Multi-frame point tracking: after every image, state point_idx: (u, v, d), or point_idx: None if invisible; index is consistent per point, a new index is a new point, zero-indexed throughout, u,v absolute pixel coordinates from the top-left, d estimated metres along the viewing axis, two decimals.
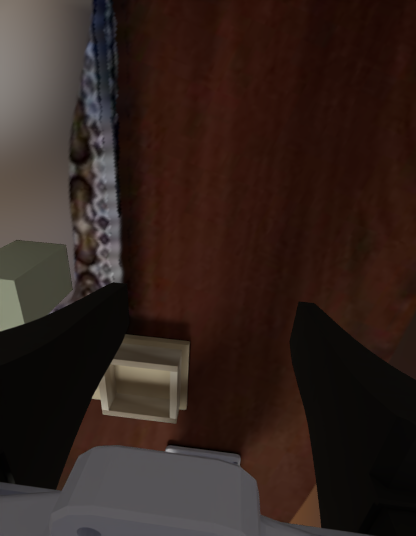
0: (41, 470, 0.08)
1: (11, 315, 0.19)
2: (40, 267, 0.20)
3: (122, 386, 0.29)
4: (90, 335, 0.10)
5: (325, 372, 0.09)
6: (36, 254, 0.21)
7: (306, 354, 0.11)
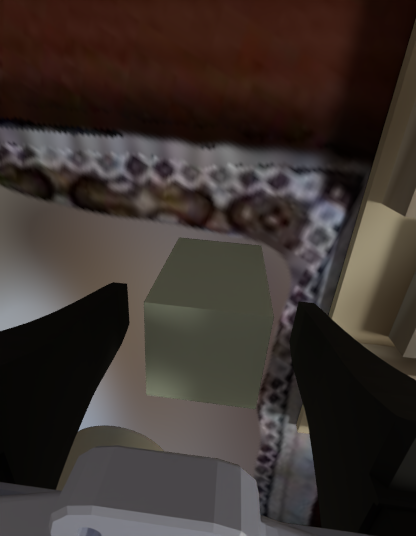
0: (41, 470, 0.08)
1: (225, 332, 0.09)
2: (172, 268, 0.12)
3: None
4: (90, 335, 0.10)
5: (325, 372, 0.09)
6: None
7: (305, 354, 0.11)
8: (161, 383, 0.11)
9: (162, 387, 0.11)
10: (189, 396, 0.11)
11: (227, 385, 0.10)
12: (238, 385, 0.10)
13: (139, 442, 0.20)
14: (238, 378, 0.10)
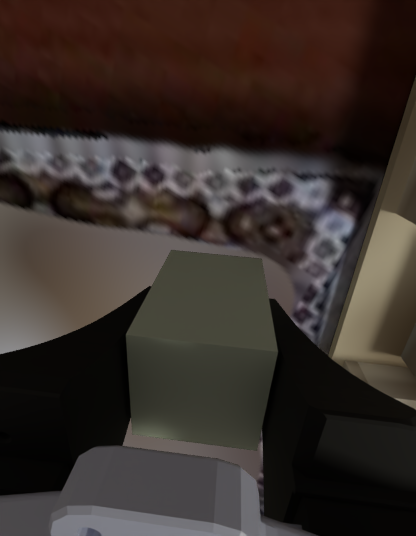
0: None
1: (221, 368, 0.08)
2: (161, 288, 0.10)
3: None
4: None
5: None
6: None
7: None
8: (149, 422, 0.09)
9: (150, 426, 0.09)
10: (181, 436, 0.10)
11: (224, 425, 0.09)
12: (236, 425, 0.09)
13: None
14: (237, 418, 0.09)
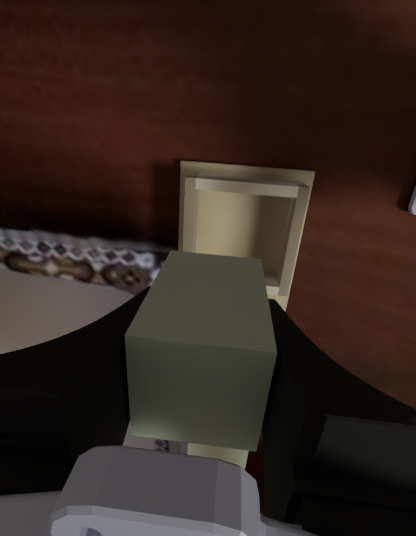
0: None
1: (220, 369, 0.08)
2: (160, 289, 0.10)
3: (262, 263, 0.20)
4: None
5: None
6: None
7: None
8: (148, 423, 0.09)
9: (149, 427, 0.09)
10: (180, 437, 0.09)
11: (223, 426, 0.09)
12: (235, 426, 0.09)
13: None
14: (236, 419, 0.09)
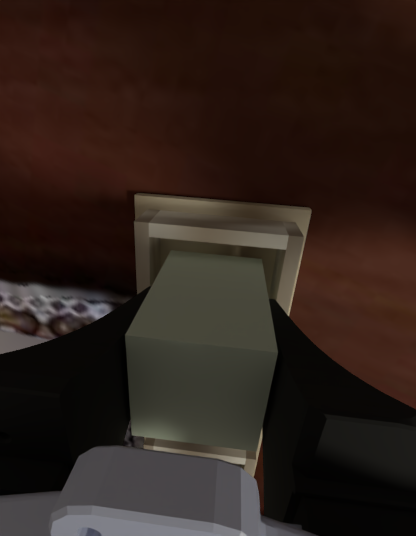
0: None
1: (220, 368, 0.08)
2: (160, 289, 0.10)
3: None
4: None
5: None
6: None
7: None
8: (148, 423, 0.09)
9: (149, 427, 0.09)
10: (181, 437, 0.09)
11: (224, 426, 0.09)
12: (236, 426, 0.09)
13: None
14: (236, 419, 0.09)
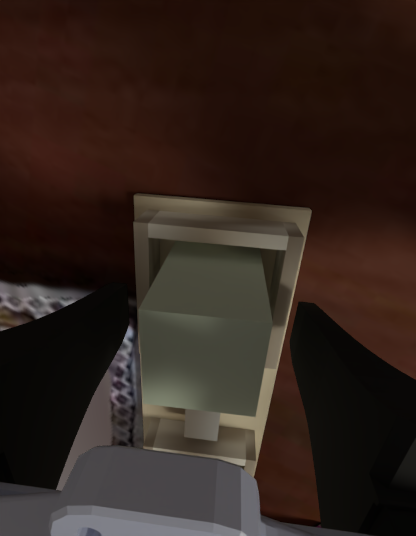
0: (41, 470, 0.08)
1: (223, 339, 0.09)
2: (167, 273, 0.11)
3: None
4: (90, 335, 0.10)
5: (325, 372, 0.09)
6: None
7: (306, 354, 0.11)
8: (158, 391, 0.10)
9: (159, 396, 0.10)
10: (187, 404, 0.11)
11: (226, 393, 0.10)
12: (237, 393, 0.10)
13: None
14: (237, 386, 0.10)
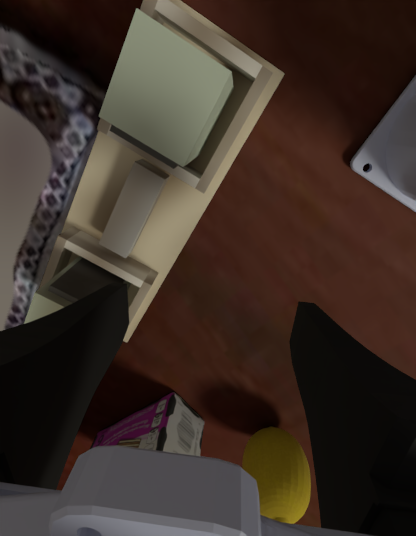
0: (41, 470, 0.08)
1: (189, 71, 0.11)
2: None
3: None
4: (90, 335, 0.10)
5: (325, 372, 0.09)
6: None
7: (305, 354, 0.11)
8: (116, 108, 0.12)
9: (115, 113, 0.12)
10: (134, 132, 0.13)
11: (170, 131, 0.12)
12: (178, 135, 0.12)
13: None
14: (181, 127, 0.12)
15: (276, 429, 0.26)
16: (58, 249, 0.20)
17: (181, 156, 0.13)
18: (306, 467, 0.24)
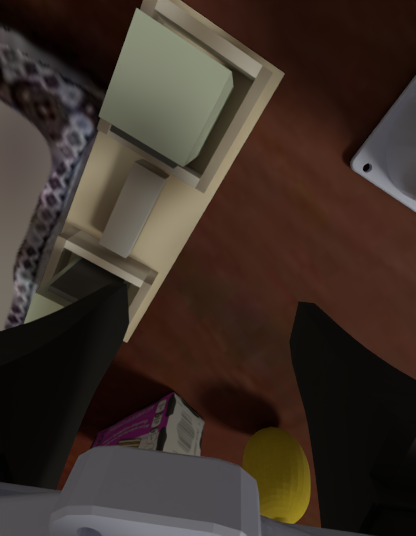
0: (41, 470, 0.08)
1: (189, 71, 0.11)
2: None
3: None
4: (90, 335, 0.10)
5: (325, 372, 0.09)
6: None
7: (306, 355, 0.11)
8: (116, 107, 0.12)
9: (115, 112, 0.12)
10: (134, 132, 0.13)
11: (170, 131, 0.12)
12: (178, 134, 0.12)
13: None
14: (181, 127, 0.12)
15: (276, 429, 0.26)
16: (58, 249, 0.20)
17: (181, 156, 0.13)
18: (306, 467, 0.24)
